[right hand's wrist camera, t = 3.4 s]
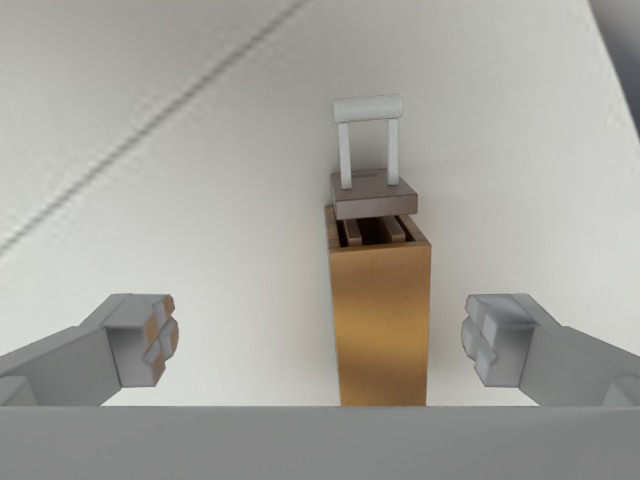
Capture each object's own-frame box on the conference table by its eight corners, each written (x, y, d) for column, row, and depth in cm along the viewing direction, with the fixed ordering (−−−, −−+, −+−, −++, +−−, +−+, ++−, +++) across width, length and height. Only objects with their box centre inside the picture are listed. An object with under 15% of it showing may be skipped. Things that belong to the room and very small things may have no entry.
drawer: (324, 98, 26) (328, 101, 19) (391, 92, 26) (419, 93, 19) (342, 352, 34) (350, 418, 27) (393, 348, 34) (414, 413, 27)
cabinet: (324, 206, 29) (328, 252, 21) (397, 200, 29) (432, 244, 21) (338, 378, 36) (345, 466, 28) (398, 374, 36) (424, 460, 28)
